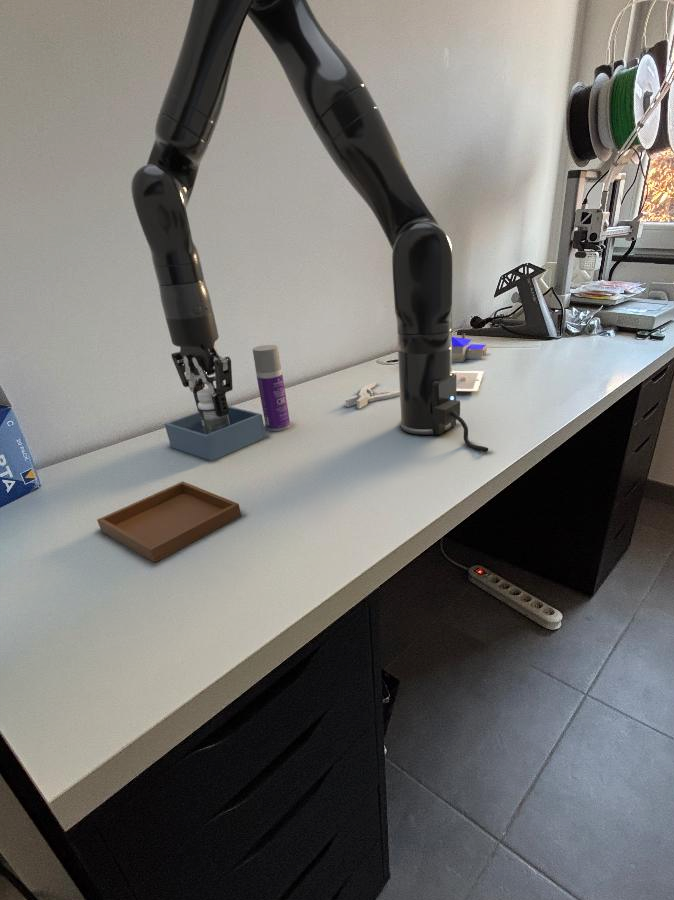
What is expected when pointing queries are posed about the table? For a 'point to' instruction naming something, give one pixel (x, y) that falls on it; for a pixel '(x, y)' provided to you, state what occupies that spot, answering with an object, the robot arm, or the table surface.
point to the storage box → (216, 434)
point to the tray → (169, 520)
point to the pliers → (365, 397)
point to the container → (271, 387)
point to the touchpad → (468, 380)
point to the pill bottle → (210, 413)
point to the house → (466, 349)
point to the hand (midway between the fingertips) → (213, 412)
